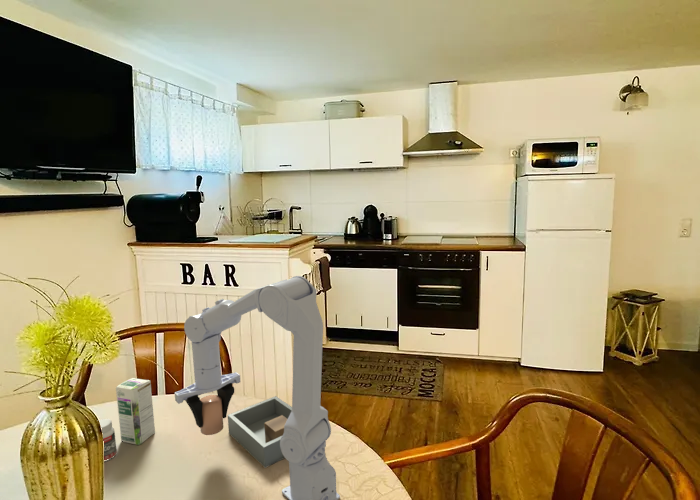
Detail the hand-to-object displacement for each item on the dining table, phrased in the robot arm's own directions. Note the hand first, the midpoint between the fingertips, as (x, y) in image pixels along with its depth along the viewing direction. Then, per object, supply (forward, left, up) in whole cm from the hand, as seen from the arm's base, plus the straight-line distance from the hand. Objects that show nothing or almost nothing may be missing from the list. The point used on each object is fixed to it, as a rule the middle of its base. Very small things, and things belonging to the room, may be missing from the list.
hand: (211, 420), depth 98 cm
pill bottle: (+17, +19, -9) cm, 27 cm away
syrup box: (+20, +11, -9) cm, 24 cm away
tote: (-3, -13, -9) cm, 16 cm away
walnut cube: (-7, -13, -8) cm, 17 cm away
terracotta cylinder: (0, 0, -2) cm, 2 cm away
